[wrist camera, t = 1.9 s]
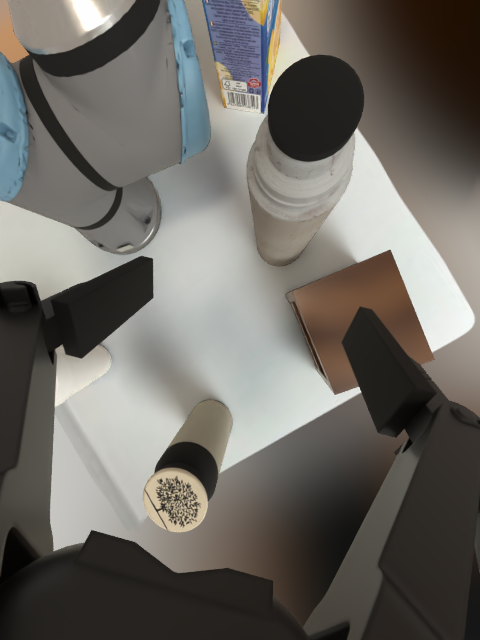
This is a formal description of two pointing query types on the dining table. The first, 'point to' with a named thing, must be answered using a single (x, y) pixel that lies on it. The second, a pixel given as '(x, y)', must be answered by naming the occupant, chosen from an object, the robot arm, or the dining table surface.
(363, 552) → the robot arm
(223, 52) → the beverage box
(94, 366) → the foam cup
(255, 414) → the dining table surface
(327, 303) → the box
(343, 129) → the thermos bottle
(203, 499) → the travel mug
